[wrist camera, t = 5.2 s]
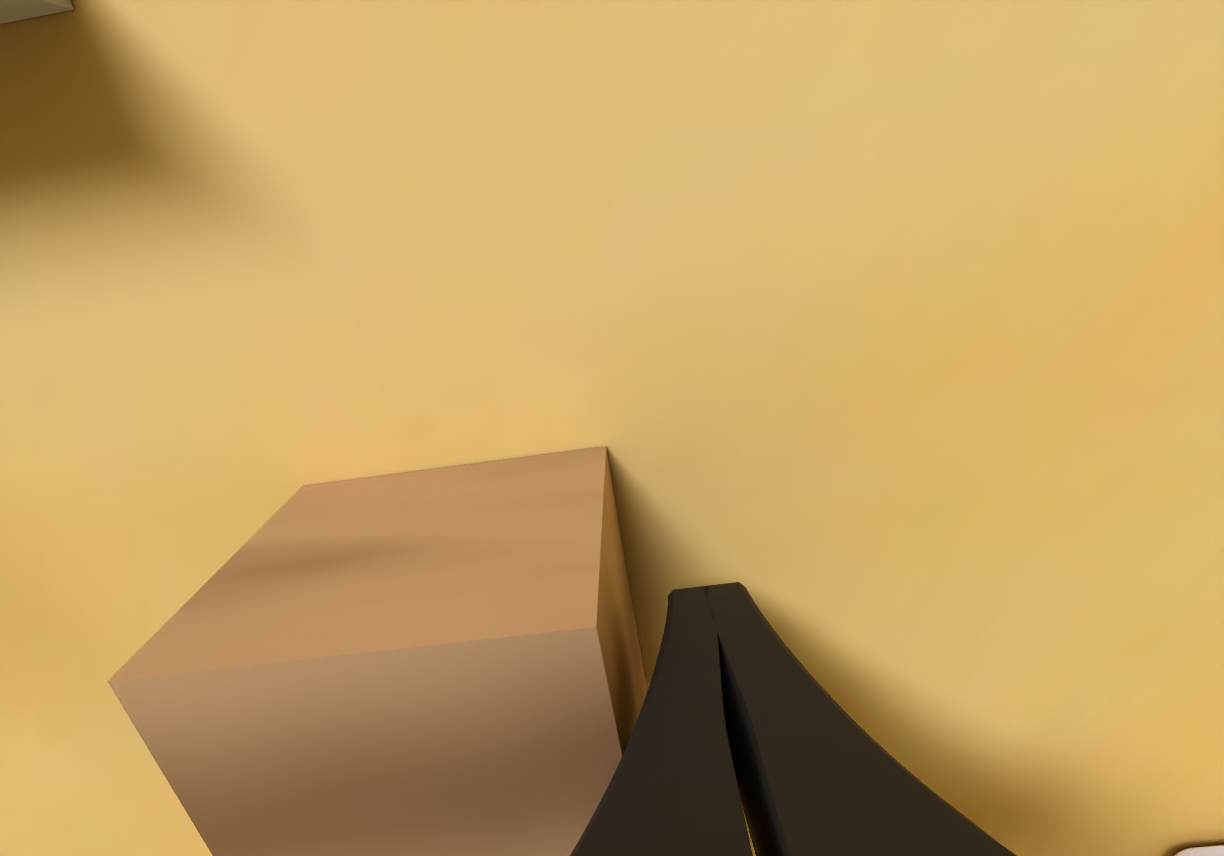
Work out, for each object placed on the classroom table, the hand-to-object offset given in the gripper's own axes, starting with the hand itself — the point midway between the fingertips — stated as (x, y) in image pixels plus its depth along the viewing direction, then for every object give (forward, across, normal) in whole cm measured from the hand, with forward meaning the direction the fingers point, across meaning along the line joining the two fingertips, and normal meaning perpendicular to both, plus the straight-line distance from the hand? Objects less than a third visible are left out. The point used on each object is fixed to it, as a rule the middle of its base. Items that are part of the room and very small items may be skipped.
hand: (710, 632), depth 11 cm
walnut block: (+2, +4, 0) cm, 5 cm away
